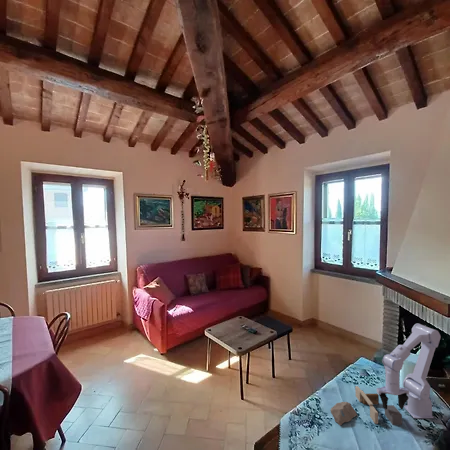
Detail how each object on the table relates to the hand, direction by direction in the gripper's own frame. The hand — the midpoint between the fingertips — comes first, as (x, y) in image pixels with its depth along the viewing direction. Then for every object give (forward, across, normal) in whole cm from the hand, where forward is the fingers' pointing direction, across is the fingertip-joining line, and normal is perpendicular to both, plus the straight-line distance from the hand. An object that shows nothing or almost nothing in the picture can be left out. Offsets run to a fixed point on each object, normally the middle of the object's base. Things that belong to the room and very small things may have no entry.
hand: (392, 407), depth 121 cm
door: (+6, +5, -10) cm, 13 cm away
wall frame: (+6, +9, -7) cm, 13 cm away
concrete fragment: (+6, +23, -2) cm, 24 cm away
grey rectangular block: (+6, 0, 0) cm, 6 cm away
